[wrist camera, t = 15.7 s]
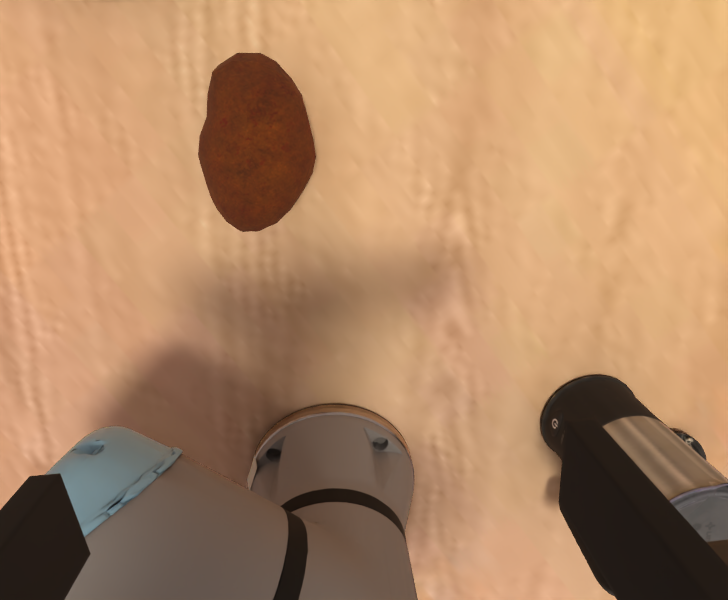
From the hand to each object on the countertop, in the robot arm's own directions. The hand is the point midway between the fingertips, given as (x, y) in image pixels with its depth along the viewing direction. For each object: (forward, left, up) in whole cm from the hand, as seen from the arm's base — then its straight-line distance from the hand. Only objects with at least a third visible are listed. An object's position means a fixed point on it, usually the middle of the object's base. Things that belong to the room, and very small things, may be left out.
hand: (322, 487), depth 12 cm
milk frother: (-21, -26, -27) cm, 43 cm away
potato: (+8, +4, -27) cm, 28 cm away
